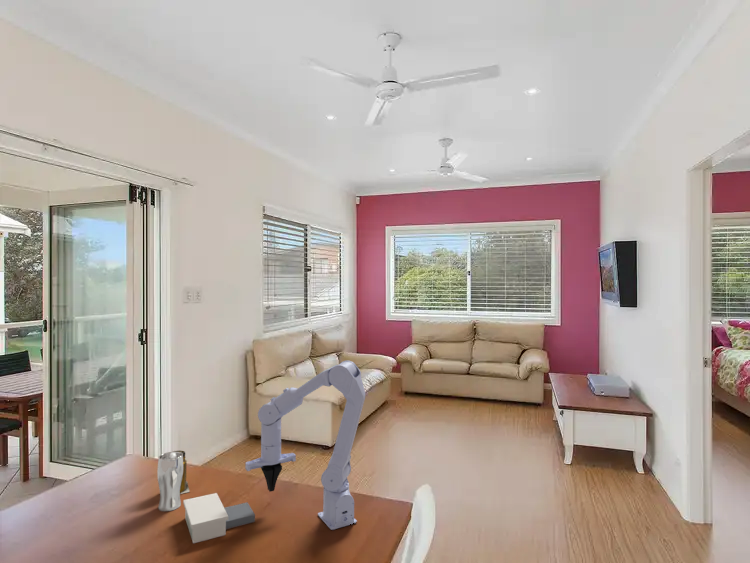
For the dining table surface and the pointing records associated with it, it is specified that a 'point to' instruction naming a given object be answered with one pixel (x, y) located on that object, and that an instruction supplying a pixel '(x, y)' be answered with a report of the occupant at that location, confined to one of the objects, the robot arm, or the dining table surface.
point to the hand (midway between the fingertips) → (271, 489)
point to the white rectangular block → (205, 517)
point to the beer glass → (170, 480)
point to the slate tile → (239, 515)
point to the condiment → (184, 476)
